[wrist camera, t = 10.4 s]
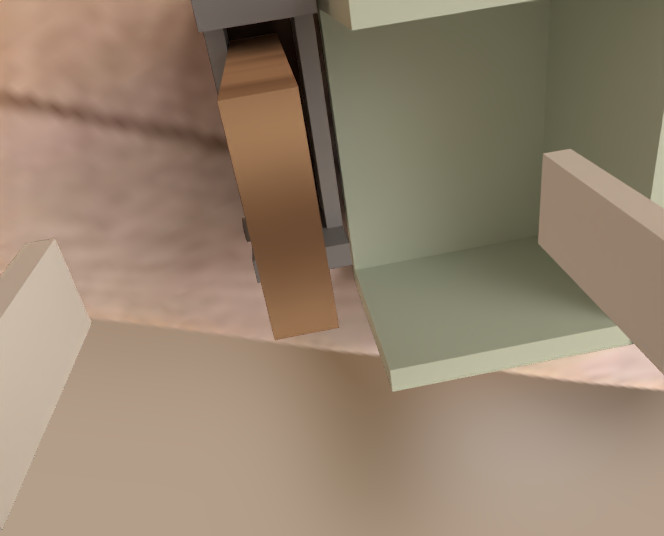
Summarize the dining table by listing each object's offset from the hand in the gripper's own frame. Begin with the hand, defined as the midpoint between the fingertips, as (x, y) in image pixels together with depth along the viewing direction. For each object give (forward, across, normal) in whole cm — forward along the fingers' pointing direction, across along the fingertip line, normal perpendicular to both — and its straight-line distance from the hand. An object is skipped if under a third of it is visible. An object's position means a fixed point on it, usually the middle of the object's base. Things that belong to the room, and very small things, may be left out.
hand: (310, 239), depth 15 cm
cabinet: (+15, +6, -2) cm, 16 cm away
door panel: (+15, -1, -1) cm, 15 cm away
